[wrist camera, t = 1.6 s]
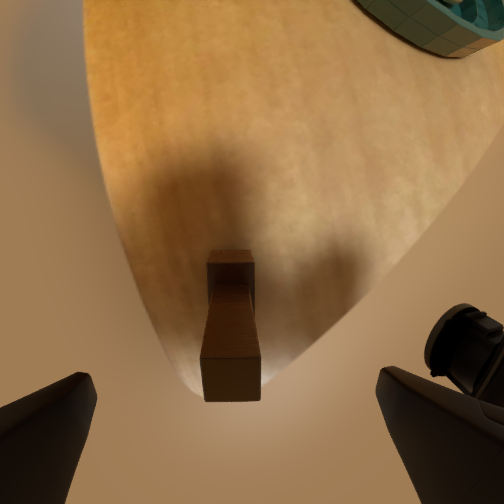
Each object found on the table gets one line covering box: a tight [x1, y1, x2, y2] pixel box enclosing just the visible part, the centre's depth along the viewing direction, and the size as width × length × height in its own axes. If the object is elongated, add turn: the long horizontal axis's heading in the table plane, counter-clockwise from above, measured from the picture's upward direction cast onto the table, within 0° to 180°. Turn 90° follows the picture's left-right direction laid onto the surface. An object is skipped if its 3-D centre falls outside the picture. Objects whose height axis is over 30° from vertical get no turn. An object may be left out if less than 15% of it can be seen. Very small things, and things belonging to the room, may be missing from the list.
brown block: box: [200, 250, 261, 402], centre depth 13 cm, size 4×2×10 cm, turn 0°
